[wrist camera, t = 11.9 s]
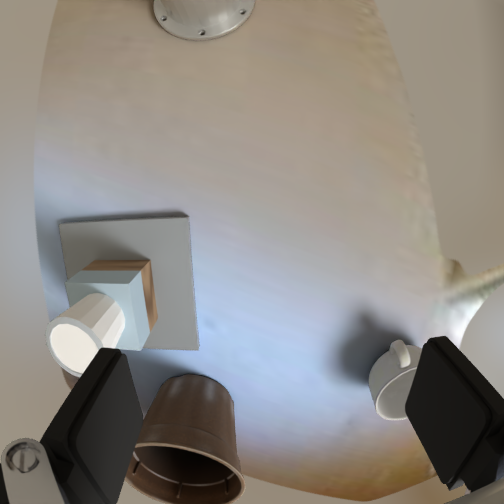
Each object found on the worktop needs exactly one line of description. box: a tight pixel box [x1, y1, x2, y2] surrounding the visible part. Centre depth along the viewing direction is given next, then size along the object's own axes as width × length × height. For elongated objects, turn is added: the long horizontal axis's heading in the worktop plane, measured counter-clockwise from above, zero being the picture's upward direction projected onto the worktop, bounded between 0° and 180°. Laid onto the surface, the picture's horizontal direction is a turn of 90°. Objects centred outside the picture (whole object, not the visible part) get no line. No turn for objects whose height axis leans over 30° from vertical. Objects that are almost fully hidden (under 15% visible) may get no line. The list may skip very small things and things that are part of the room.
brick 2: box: [65, 270, 150, 351], centre depth 34 cm, size 8×8×4 cm
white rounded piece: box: [45, 293, 125, 377], centre depth 28 cm, size 7×7×7 cm
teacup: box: [369, 340, 422, 420], centre depth 41 cm, size 14×11×8 cm
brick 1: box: [82, 260, 158, 332], centre depth 37 cm, size 8×8×4 cm
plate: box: [59, 216, 200, 350], centre depth 40 cm, size 18×18×1 cm
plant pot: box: [124, 374, 245, 504], centre depth 38 cm, size 16×16×16 cm
